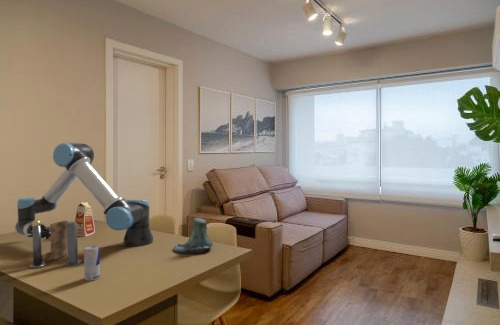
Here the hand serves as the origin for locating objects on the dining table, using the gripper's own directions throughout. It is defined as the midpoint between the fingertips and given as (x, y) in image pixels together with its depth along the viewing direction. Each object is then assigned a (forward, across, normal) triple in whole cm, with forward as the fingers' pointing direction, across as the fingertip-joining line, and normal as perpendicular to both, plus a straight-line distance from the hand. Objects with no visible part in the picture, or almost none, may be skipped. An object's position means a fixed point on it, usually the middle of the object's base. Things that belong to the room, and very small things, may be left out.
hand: (57, 236), depth 155 cm
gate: (+4, +3, -9) cm, 11 cm away
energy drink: (+41, +6, -10) cm, 42 cm away
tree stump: (+46, -44, -10) cm, 64 cm away
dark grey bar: (+17, +2, -9) cm, 20 cm away
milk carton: (-32, -30, -10) cm, 44 cm away
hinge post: (+8, +12, -9) cm, 17 cm away
